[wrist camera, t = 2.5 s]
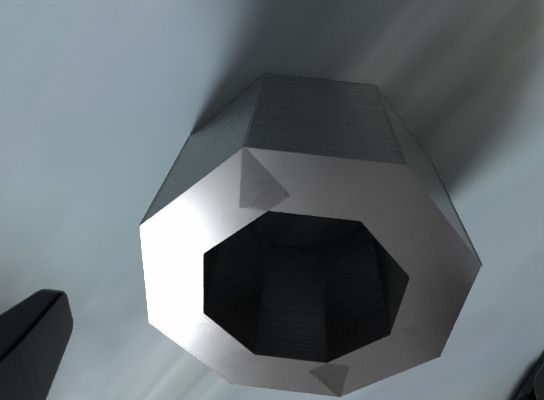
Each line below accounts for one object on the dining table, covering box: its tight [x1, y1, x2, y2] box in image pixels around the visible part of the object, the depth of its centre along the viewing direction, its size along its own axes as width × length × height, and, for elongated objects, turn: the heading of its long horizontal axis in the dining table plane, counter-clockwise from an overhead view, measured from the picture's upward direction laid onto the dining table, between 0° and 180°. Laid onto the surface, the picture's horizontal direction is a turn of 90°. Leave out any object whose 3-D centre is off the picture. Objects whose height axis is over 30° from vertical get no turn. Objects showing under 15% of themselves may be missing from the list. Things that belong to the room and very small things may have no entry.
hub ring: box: [139, 73, 482, 397], centre depth 11 cm, size 6×6×4 cm
